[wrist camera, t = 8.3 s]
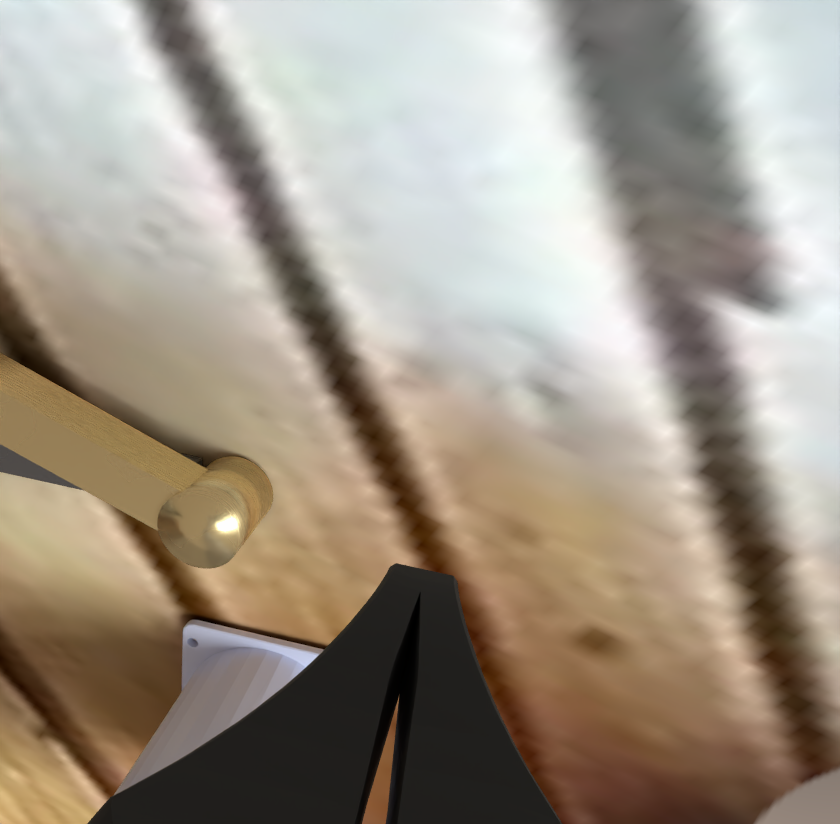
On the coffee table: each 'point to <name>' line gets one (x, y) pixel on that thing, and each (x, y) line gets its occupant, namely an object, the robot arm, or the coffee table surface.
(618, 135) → the coffee table surface
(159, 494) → the lever
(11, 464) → the levelling base
